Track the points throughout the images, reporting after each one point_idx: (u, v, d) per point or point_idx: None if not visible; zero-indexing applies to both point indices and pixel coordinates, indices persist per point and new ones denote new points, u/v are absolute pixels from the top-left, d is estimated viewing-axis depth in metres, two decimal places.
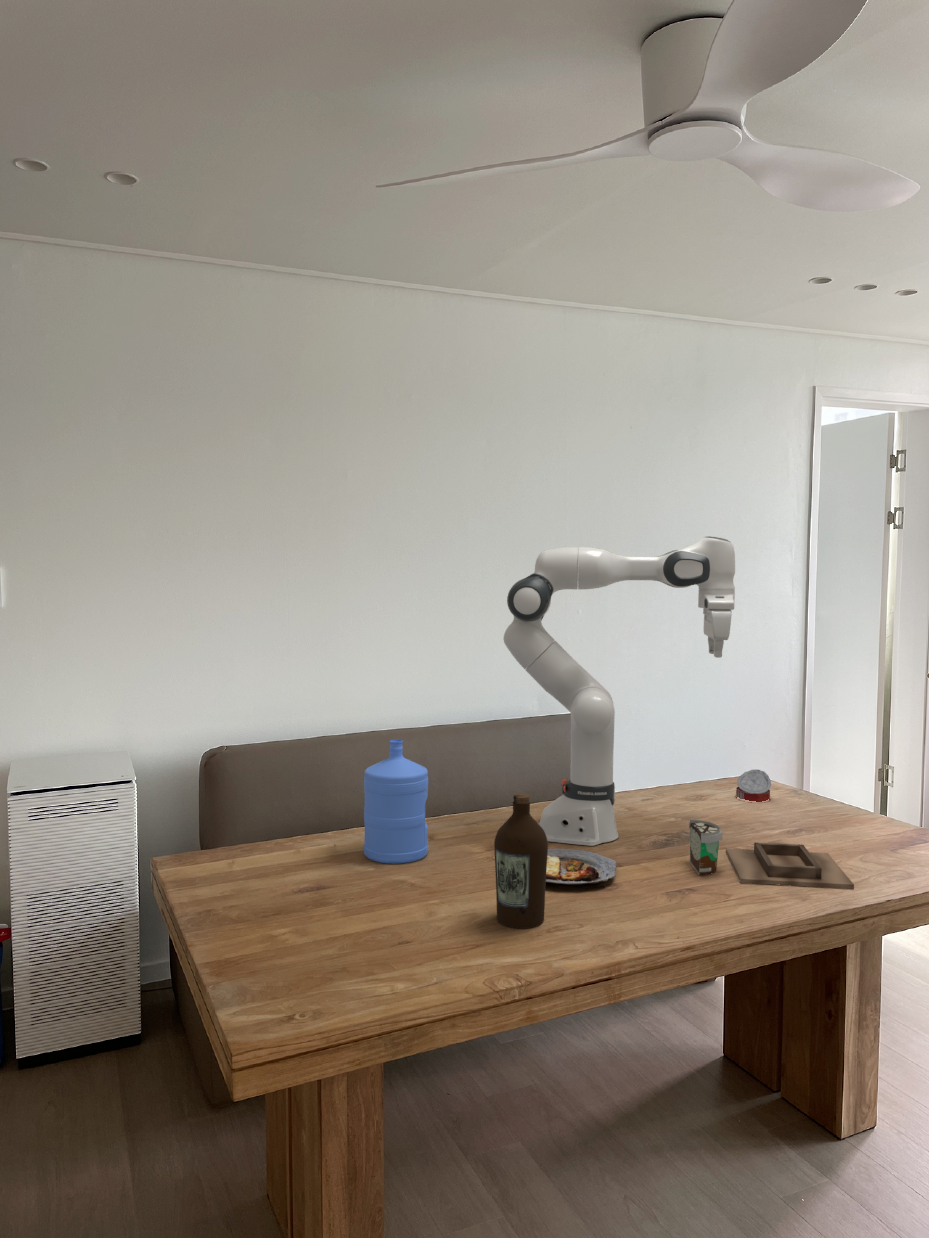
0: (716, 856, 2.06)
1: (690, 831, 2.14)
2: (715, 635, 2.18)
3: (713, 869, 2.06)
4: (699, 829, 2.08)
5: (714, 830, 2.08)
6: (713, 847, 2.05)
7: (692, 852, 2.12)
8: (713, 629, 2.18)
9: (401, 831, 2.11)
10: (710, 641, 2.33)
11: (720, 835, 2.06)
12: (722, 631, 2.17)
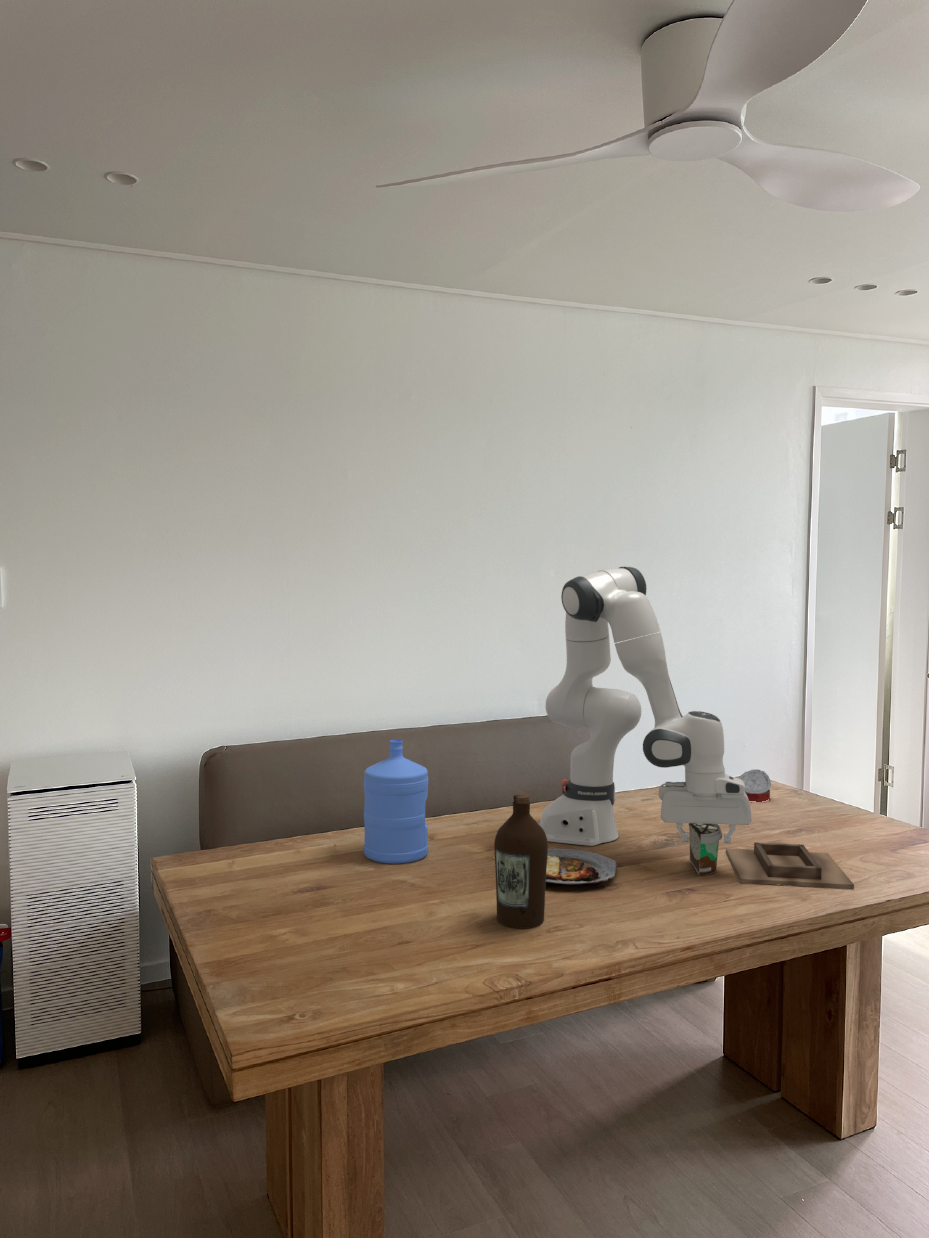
0: (716, 856, 2.06)
1: (690, 829, 2.14)
2: (751, 820, 2.03)
3: (713, 868, 2.06)
4: (699, 829, 2.08)
5: (714, 829, 2.08)
6: (713, 847, 2.04)
7: (692, 851, 2.12)
8: (750, 814, 2.02)
9: (401, 831, 2.11)
10: (681, 828, 2.07)
11: (720, 835, 2.05)
12: None
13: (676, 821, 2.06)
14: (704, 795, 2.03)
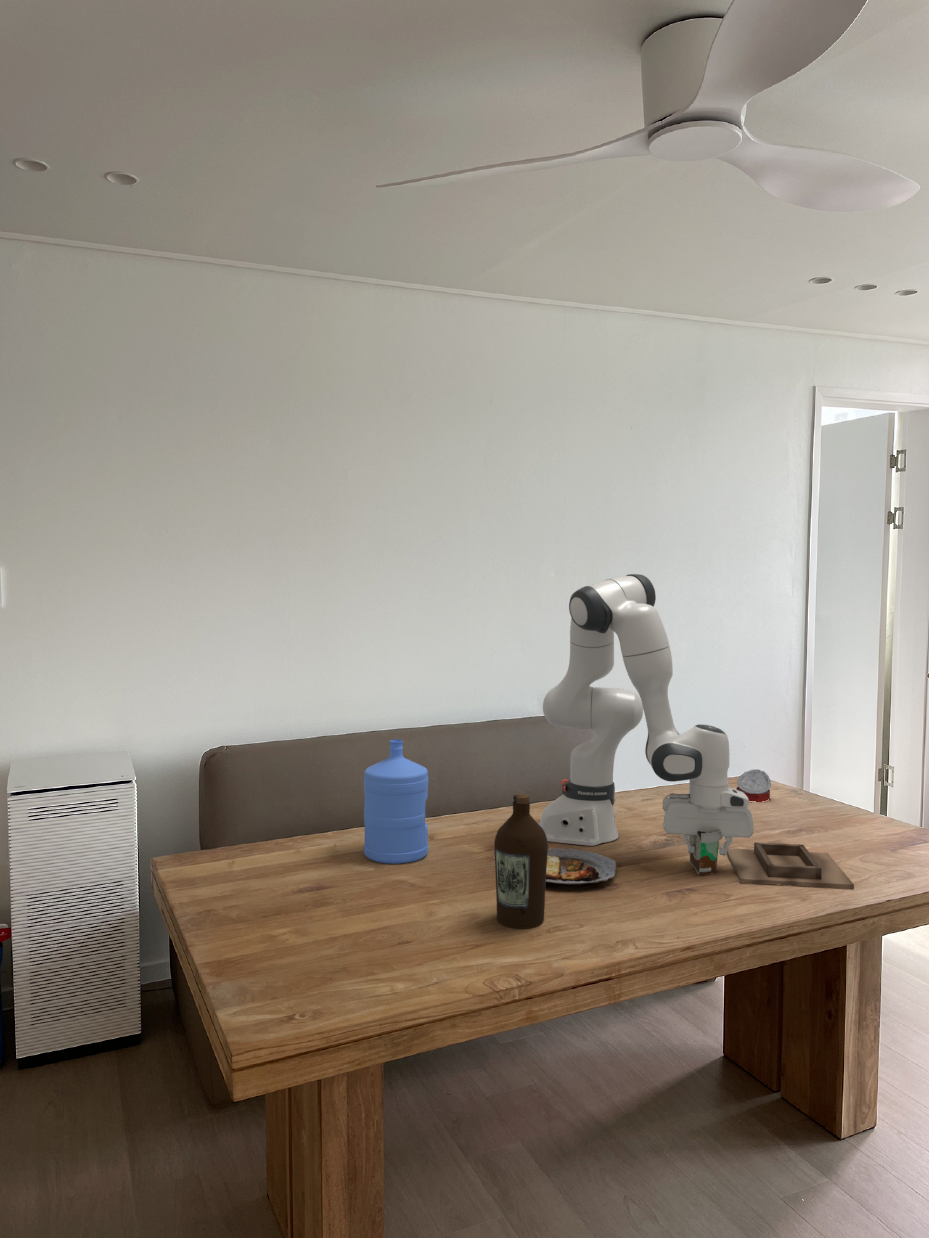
0: (716, 856, 2.06)
1: None
2: None
3: (713, 869, 2.06)
4: None
5: None
6: (713, 847, 2.05)
7: None
8: (752, 827, 2.05)
9: (401, 831, 2.11)
10: (687, 839, 2.09)
11: (720, 835, 2.06)
12: None
13: (679, 833, 2.08)
14: (709, 808, 2.05)
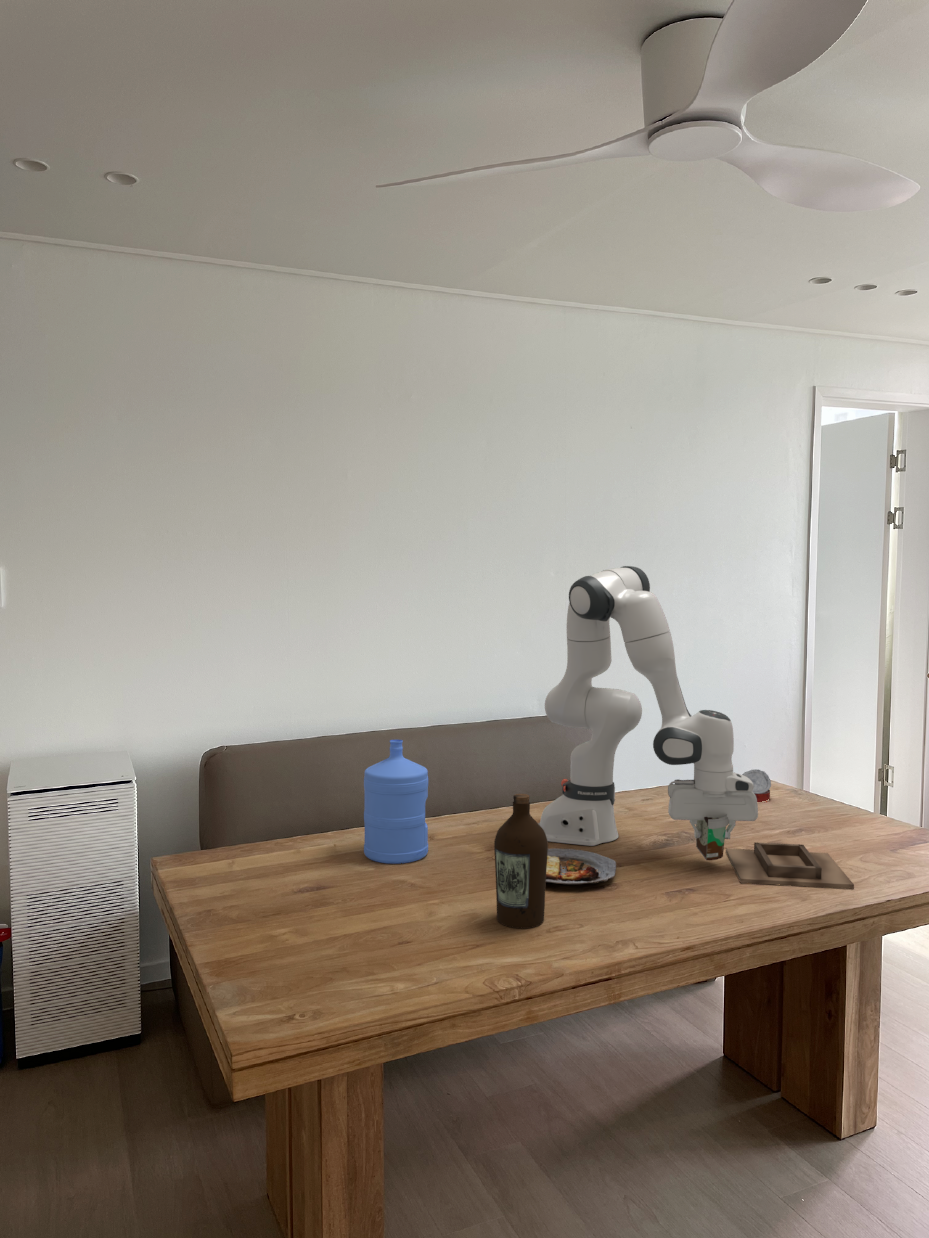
0: (723, 841, 2.08)
1: None
2: (757, 816, 2.08)
3: (720, 854, 2.07)
4: None
5: None
6: (720, 833, 2.06)
7: None
8: (757, 810, 2.07)
9: (401, 831, 2.11)
10: None
11: (727, 821, 2.07)
12: None
13: (685, 818, 2.09)
14: (714, 793, 2.06)
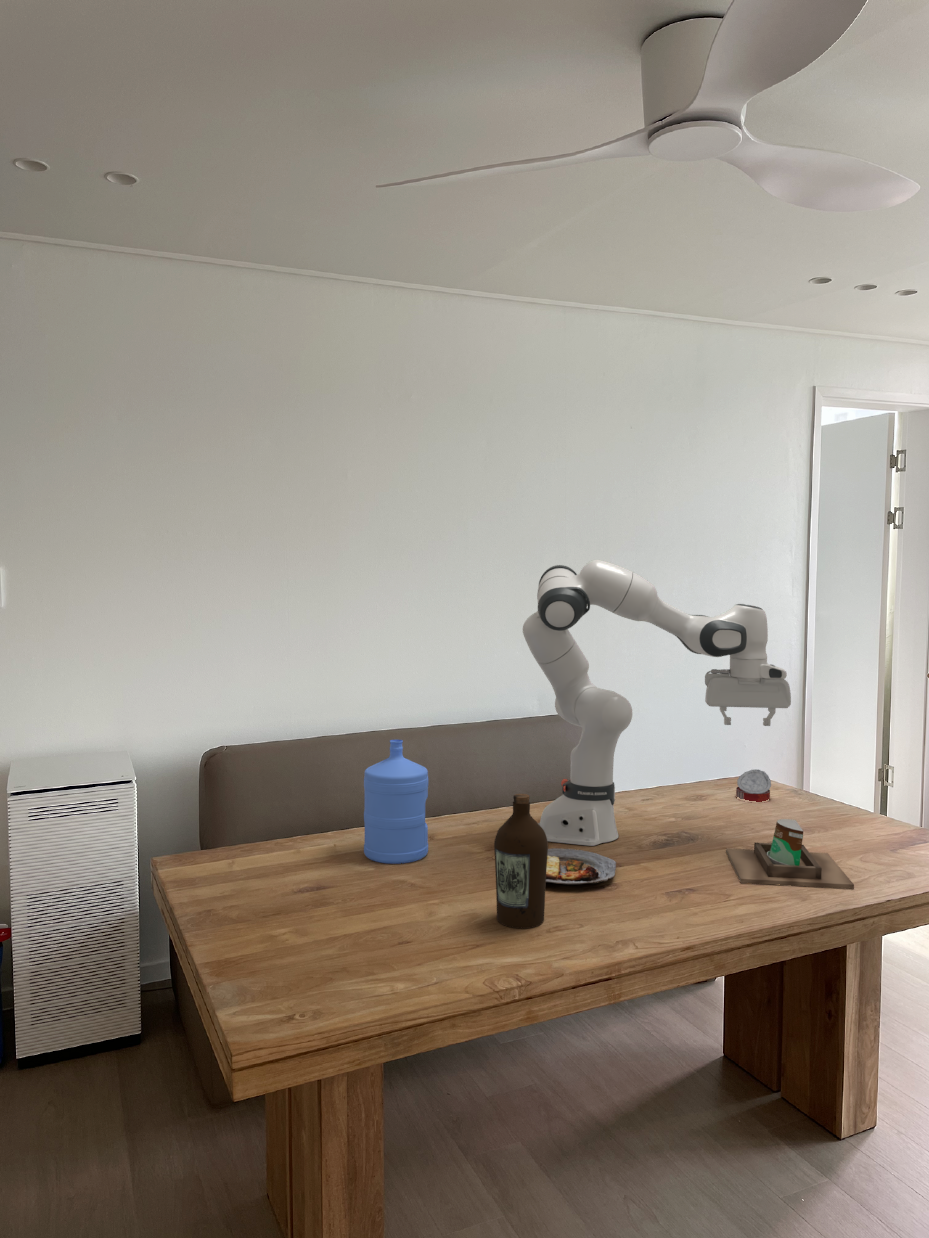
0: (779, 842, 2.05)
1: None
2: (790, 703, 2.20)
3: (785, 831, 2.04)
4: None
5: None
6: (784, 855, 2.03)
7: None
8: (790, 698, 2.19)
9: (401, 831, 2.11)
10: (724, 712, 2.23)
11: (773, 863, 2.05)
12: None
13: (721, 705, 2.22)
14: (749, 680, 2.19)
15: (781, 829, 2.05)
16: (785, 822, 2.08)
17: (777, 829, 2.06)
